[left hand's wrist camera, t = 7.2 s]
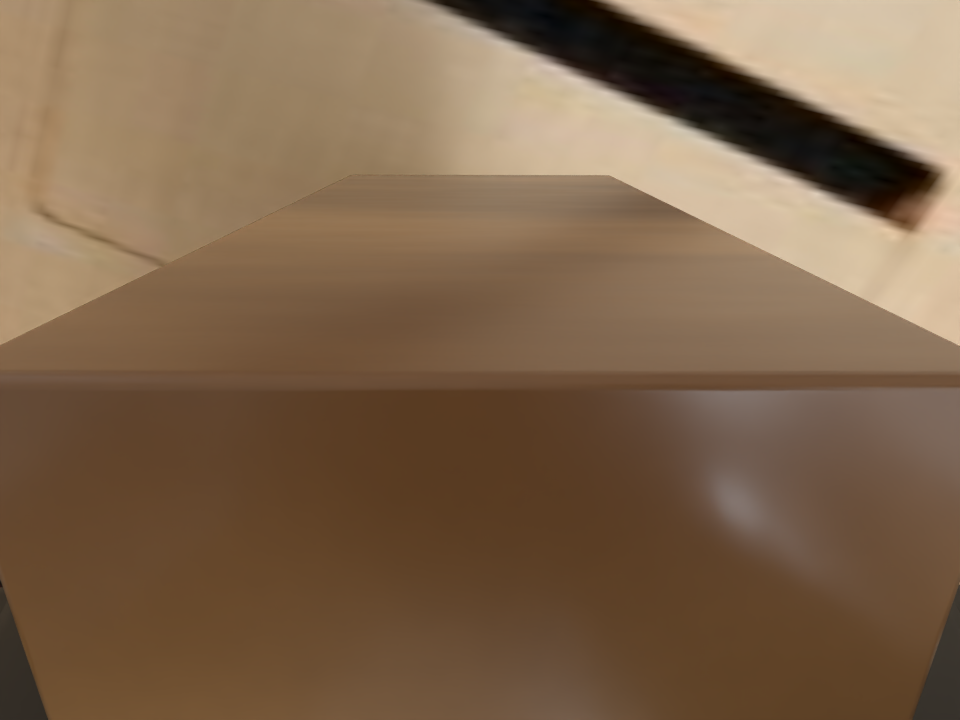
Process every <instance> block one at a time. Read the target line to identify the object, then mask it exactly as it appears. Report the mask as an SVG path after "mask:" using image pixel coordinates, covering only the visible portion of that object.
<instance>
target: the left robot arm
mask: <svg viewBox="0 0 960 720" xmlns="http://www.w3.org/2000/svg"><path fill="white" fill-rule="evenodd" d="M0 720H48V718H47V715H46V712H45V709H44V706H43V703H42V700H41V697H40V694H39V691H38V688H37V685H36V682H35V679H34V677H33V674H32V671H31V668H30V665H29V662H28V659H27V656H26V653H25V650H24V647H23V644H22V641H21V638H20V635H19V633H18V630H17V627H16V624H15V621H14V618H13V615H12V612H11V609H10V606H9V603H8V600H7V597H6V594H5V591H4V589H3V587H0ZM912 720H960V584H959V586H958V589H957V592H956V595H955V598H954V601H953V604H952V607H951V610H950V612H949V615H948V618H947V621H946V624H945V627H944V630H943V633H942V636H941V638H940V641H939V644H938V647H937V650H936V653H935V656H934V659H933V662H932V664H931V667H930V670H929V673H928V676H927V679H926V682H925V685H924V688H923V690H922V693H921V696H920V699H919V702H918V705H917V708H916V711H915V714H914V716H913V719H912Z"/></svg>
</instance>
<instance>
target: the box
mask: <svg viewBox="0 0 960 720" xmlns="http://www.w3.org/2000/svg"><path fill="white" fill-rule="evenodd" d="M0 580H1V583H2V586H3V589H4V591H5V594H6V597H7V600H8V603H9V606H10V609H11V612H12V615H13V618H14V621H15V624H16V627H17V630H18V633H19V635H20V638H21V641H22V644H23V647H24V650H25V653H26V656H27V659H28V662H29V665H30V668H31V671H32V674H33V677H34V679H35V682H36V685H37V688H38V691H39V694H40V697H41V700H42V703H43V706H44V709H45V712H46V715H47V718H48V720H912V719H913V716H914V714H915V711H916V708H917V705H918V702H919V699H920V696H921V693H922V690H923V688H924V685H925V682H926V679H927V676H928V673H929V670H930V667H931V664H932V662H933V659H934V656H935V653H936V650H937V647H938V644H939V641H940V638H941V636H942V633H943V630H944V627H945V624H946V621H947V618H948V615H949V612H950V610H951V607H952V604H953V601H954V598H955V595H956V592H957V589H958V586H959V583H960V346H959V345H957V344H955V343H952V342H950V341H948V340H946V339H944V338H942V337H940V336H938V335H936V334H934V333H932V332H930V331H928V330H926V329H924V328H922V327H920V326H918V325H915V324H913V323H911V322H909V321H907V320H905V319H903V318H901V317H899V316H897V315H895V314H893V313H891V312H889V311H887V310H885V309H883V308H881V307H879V306H876V305H874V304H872V303H870V302H868V301H866V300H864V299H862V298H860V297H858V296H856V295H854V294H852V293H850V292H848V291H846V290H844V289H842V288H839V287H837V286H835V285H833V284H831V283H829V282H827V281H825V280H823V279H821V278H819V277H817V276H815V275H813V274H811V273H809V272H807V271H805V270H802V269H800V268H798V267H796V266H794V265H792V264H790V263H788V262H786V261H784V260H782V259H780V258H778V257H776V256H774V255H772V254H770V253H768V252H766V251H763V250H761V249H759V248H757V247H755V246H753V245H751V244H749V243H747V242H745V241H743V240H741V239H739V238H737V237H735V236H733V235H731V234H729V233H726V232H724V231H722V230H720V229H718V228H716V227H714V226H712V225H710V224H708V223H706V222H704V221H702V220H700V219H698V218H696V217H694V216H692V215H690V214H687V213H685V212H683V211H681V210H679V209H677V208H675V207H673V206H671V205H669V204H667V203H665V202H663V201H661V200H659V199H657V198H655V197H653V196H650V195H648V194H646V193H644V192H642V191H640V190H638V189H636V188H634V187H632V186H630V185H628V184H626V183H624V182H622V181H620V180H618V179H616V178H614V177H611V176H609V175H350V176H348V177H346V178H344V179H342V180H340V181H338V182H336V183H334V184H332V185H330V186H328V187H326V188H324V189H321V190H319V191H317V192H315V193H313V194H311V195H309V196H307V197H305V198H303V199H301V200H299V201H297V202H295V203H293V204H291V205H288V206H286V207H284V208H282V209H280V210H278V211H276V212H274V213H272V214H270V215H268V216H266V217H264V218H262V219H260V220H258V221H255V222H253V223H251V224H249V225H247V226H245V227H243V228H241V229H239V230H237V231H235V232H233V233H231V234H229V235H227V236H225V237H223V238H220V239H218V240H216V241H214V242H212V243H210V244H208V245H206V246H204V247H202V248H200V249H198V250H196V251H194V252H192V253H190V254H187V255H185V256H183V257H181V258H179V259H177V260H175V261H173V262H171V263H169V264H167V265H165V266H163V267H161V268H159V269H157V270H155V271H152V272H150V273H148V274H146V275H144V276H142V277H140V278H138V279H136V280H134V281H132V282H130V283H128V284H126V285H124V286H122V287H119V288H117V289H115V290H113V291H111V292H109V293H107V294H105V295H103V296H101V297H99V298H97V299H95V300H93V301H91V302H89V303H86V304H84V305H82V306H80V307H78V308H76V309H74V310H72V311H70V312H68V313H66V314H64V315H62V316H60V317H58V318H56V319H54V320H51V321H49V322H47V323H45V324H43V325H41V326H39V327H37V328H35V329H33V330H31V331H29V332H27V333H25V334H23V335H21V336H18V337H16V338H14V339H12V340H10V341H8V342H6V343H4V344H2V345H0Z"/></svg>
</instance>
